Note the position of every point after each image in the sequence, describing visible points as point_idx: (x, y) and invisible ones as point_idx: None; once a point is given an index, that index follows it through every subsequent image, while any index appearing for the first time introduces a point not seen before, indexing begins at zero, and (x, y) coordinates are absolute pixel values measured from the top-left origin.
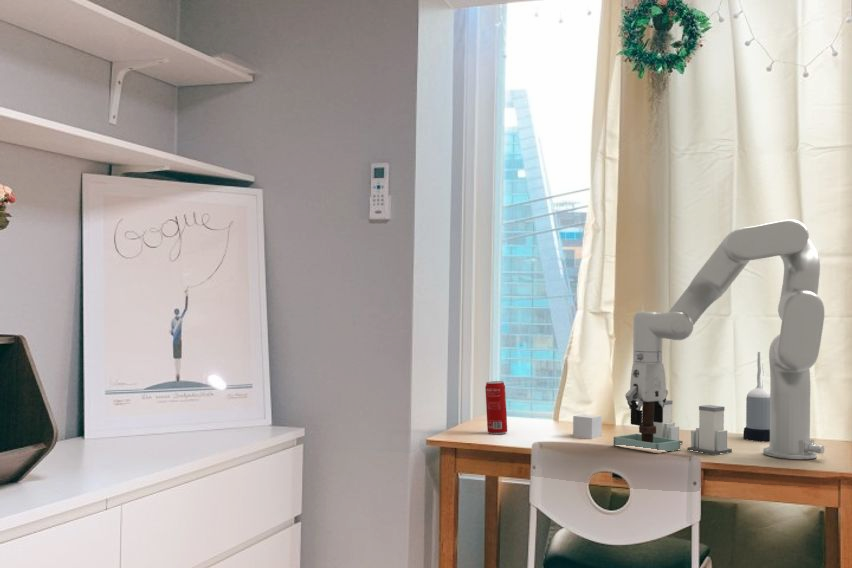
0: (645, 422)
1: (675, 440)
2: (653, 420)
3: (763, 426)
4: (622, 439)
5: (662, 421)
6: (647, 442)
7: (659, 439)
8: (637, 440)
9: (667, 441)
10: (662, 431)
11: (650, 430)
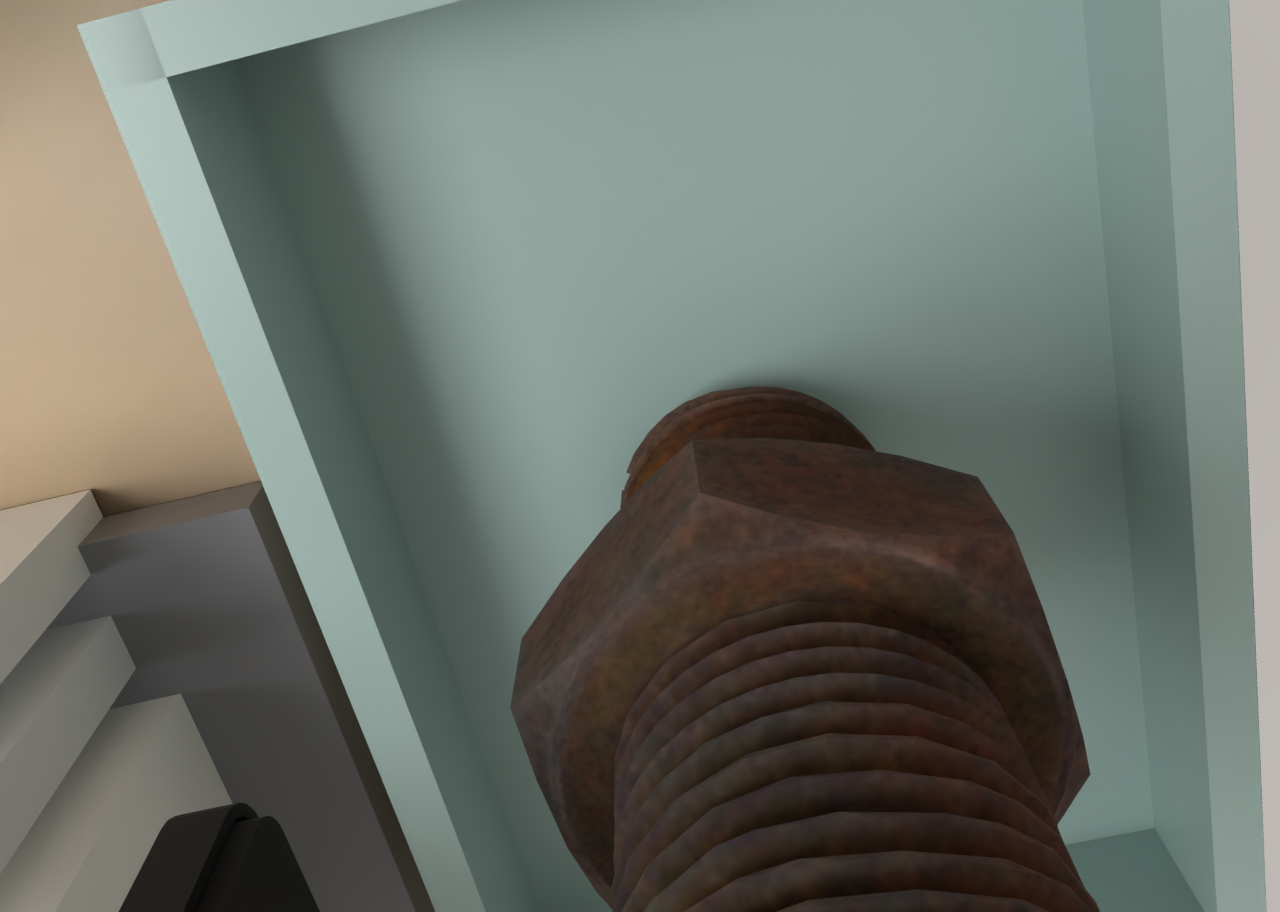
0: (1025, 780)
1: (189, 129)
2: (697, 784)
3: None
4: (1249, 763)
5: (178, 826)
6: (1222, 103)
7: (372, 572)
8: (1193, 453)
9: (299, 355)
10: (71, 849)
11: (903, 492)
